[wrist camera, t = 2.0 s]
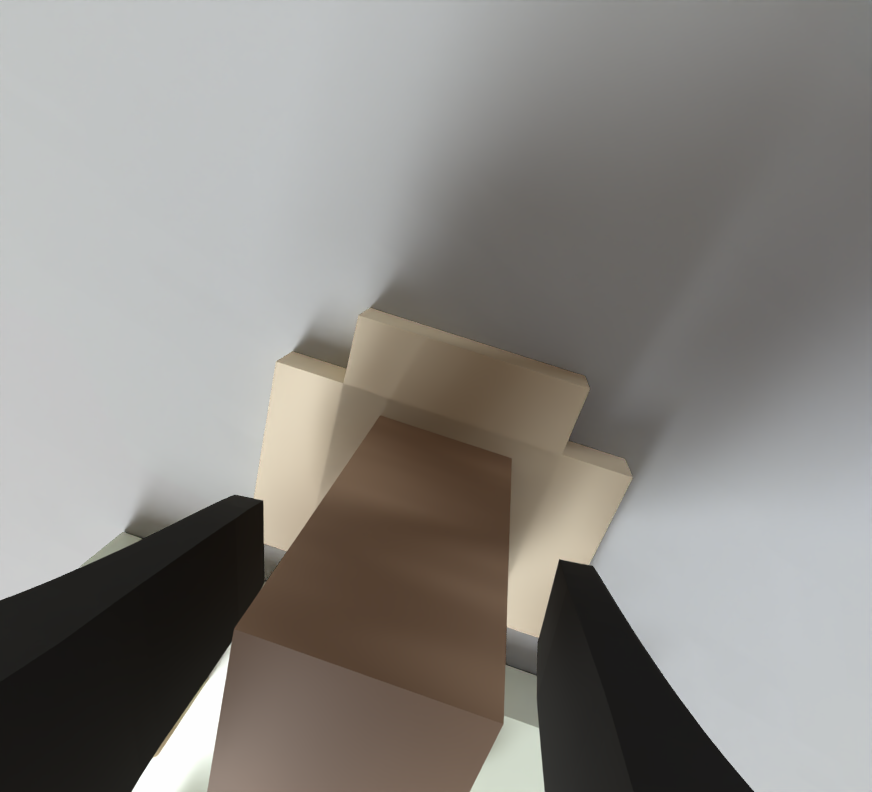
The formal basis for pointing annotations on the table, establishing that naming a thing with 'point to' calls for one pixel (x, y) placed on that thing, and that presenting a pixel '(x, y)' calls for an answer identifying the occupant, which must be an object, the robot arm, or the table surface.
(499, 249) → the table surface
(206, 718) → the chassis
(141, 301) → the table surface
